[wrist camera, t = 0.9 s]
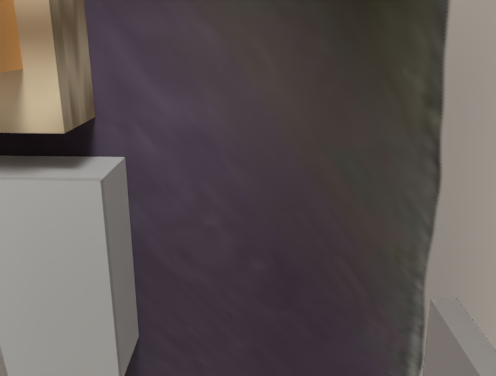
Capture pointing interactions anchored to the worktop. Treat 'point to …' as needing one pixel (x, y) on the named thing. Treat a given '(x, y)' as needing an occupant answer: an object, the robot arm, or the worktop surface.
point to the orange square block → (9, 38)
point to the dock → (66, 266)
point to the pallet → (48, 70)
